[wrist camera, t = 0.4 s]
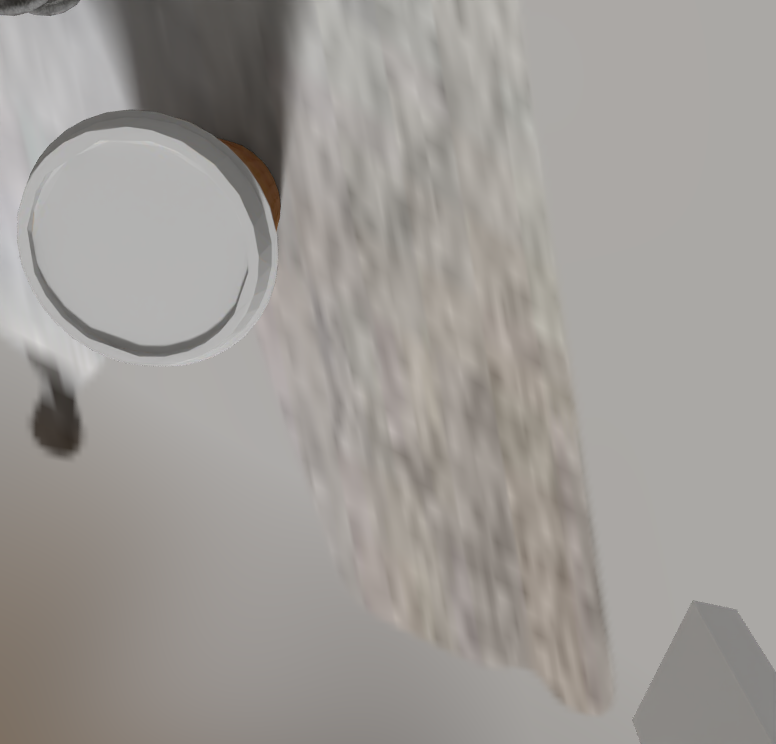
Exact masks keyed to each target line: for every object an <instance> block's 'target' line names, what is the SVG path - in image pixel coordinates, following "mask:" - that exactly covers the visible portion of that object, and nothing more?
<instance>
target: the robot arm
mask: <svg viewBox="0 0 776 744" xmlns="http://www.w3.org/2000/svg"><path fill="white" fill-rule="evenodd" d="M632 721H633V723H634V726H635V729H636V732H637V735H638V737H639V740H640V743H641V744H776V672H775V670H774V669H773V667H772V665H771V664H770V662H769V661H768V659H767V657H766V656H765V654H764V653H763V651H762V650H761V648H760V646H759V645H758V643H757V642H756V640H755V638H754V637H753V636H752V634H751V632H750V630H749V629H748V627H747V626H746V624H745V623H744V621H743V619H742V618H741V616H740V615H739V613H738V611H737V610H735V609H731V608H727V607H722V606H717V605H712V604H708V603H703V602H698V601H692V603H691V605H690V607H689V609H688V611H687V613H686V615H685V617H684V619H683V621H682V623H681V624H680V627H679V628H678V631H677V632H676V634H675V636H674V638H673V641H672V643H671V644H670V646H669V648H668V650H667V652H666V654H665V656H664V658H663V660H662V662H661V664H660V666H659V668H658V670H657V672H656V674H655V676H654V678H653V680H652V682H651V684H650V686H649V688H648V690H647V692H646V694H645V696H644V698H643V700H642V702H641V704H640V706H639V708H638V709H637V711H636V714H635V715H634V717H633V720H632Z"/></svg>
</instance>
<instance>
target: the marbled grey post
mask: <svg viewBox="0 0 776 744" xmlns="http://www.w3.org/2000/svg"><path fill="white" fill-rule="evenodd" d="M79 1H80V0H0V15H10V16H16V15H20V14H24V13H31V14H34V15H46V16H51V15H56V14H60V13H64V12H66V11H67V10H69V9H71V8H72V7H74V6H75V5H77V3H78V2H79Z"/></svg>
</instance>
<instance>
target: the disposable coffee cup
mask: <svg viewBox="0 0 776 744" xmlns="http://www.w3.org/2000/svg"><path fill="white" fill-rule="evenodd" d="M279 219H280V197H279V192H278V189H277V186H276V183H275V180H274V178H273V177H272V175H271V173H270V171H269V170H268V168H267V167H266V165H265V164H264V163H263V162H262V160H260V159H259V158H258V157H257V156H256V155H255V154H254V153H252V152H251V151H250V150H248V149H246V148H245V147H243V146H242V145H239V144H236V143H234V142H230V141H227V140H223V139H219V138H216V137H215V136H213V135H212V134H210V133H209V132H207V131H205V130H203V129H201V128H200V127H198V126H196V125H194V124H193V123H191V122H188V121H185V120H182V119H179V118H175V117H172V116H169V115H166V114H162V113H159V112H151V111H140V110H123V111H115V112H107V113H103V114H100V115H97V116H94V117H92V118H89V119H86V120H83V121H81V122H80V123H78V124H76V125H74V126H73V127H71V128H69V129H67V130H66V131H65V132H64V133H62V134H61V135H60V136H59V137H58V138H57V139H56V140H54V141H53V142H52V143H51V144H50V145H49V146H48V147H47V149H46V150H45V151H44V152H43V154H42V155H41V156H40V157H39V159H38V161H37V162H36V164H35V166H34V168H33V170H32V172H31V174H30V176H29V179H28V182H27V185H26V187H25V190H24V193H23V197H22V200H21V204H20V207H19V210H18V223H17V244H18V249H19V254H20V259H21V263H22V267H23V270H24V272H25V275H26V277H27V279H28V282H29V284H30V287H31V289H32V291H33V293H34V294H35V296H36V297H37V299H38V301H39V302H40V304H41V305H42V307H43V308H44V310H45V311H46V312H47V313H48V314H49V316H50V317H51V318H52V319H53V320H54V322H55V323H56V324H58V325H59V326H60V327H61V328H62V329H63V330H64V331H65V332H67V333H68V334H69V335H70V336H71V337H72V338H73V339H75V340H77V341H78V342H80V343H81V344H83V345H84V346H86V347H88V348H89V349H91V350H92V351H95V352H97V353H99V354H101V355H103V356H106V357H108V358H111V359H114V360H118V361H121V362H124V363H129V364H135V365H142V366H178V365H187V364H192V363H196V362H199V361H202V360H206V359H209V358H211V357H213V356H215V355H217V354H219V353H221V352H223V351H225V350H227V349H229V348H230V347H231V346H233V345H234V344H235V343H236V342H238V341H239V340H240V339H242V338H243V337H244V336H245V335H246V334H247V333H248V331H249V330H250V329H251V328H252V327H253V326H254V324H255V323H256V322H257V321H258V320H259V318H260V316H261V315H262V313H263V311H264V309H265V307H266V306H267V304H268V302H269V299H270V296H271V294H272V291H273V288H274V285H275V280H276V275H277V269H278V237H277V233H276V231H277V226H278V222H279Z"/></svg>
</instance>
